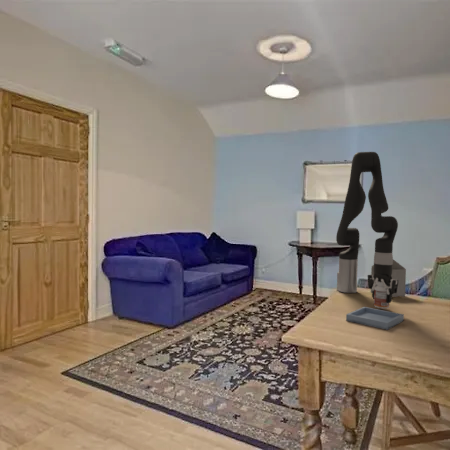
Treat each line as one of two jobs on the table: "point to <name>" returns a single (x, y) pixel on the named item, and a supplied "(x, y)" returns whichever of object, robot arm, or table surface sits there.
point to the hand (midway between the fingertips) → (381, 300)
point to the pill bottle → (380, 296)
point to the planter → (397, 278)
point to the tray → (375, 317)
